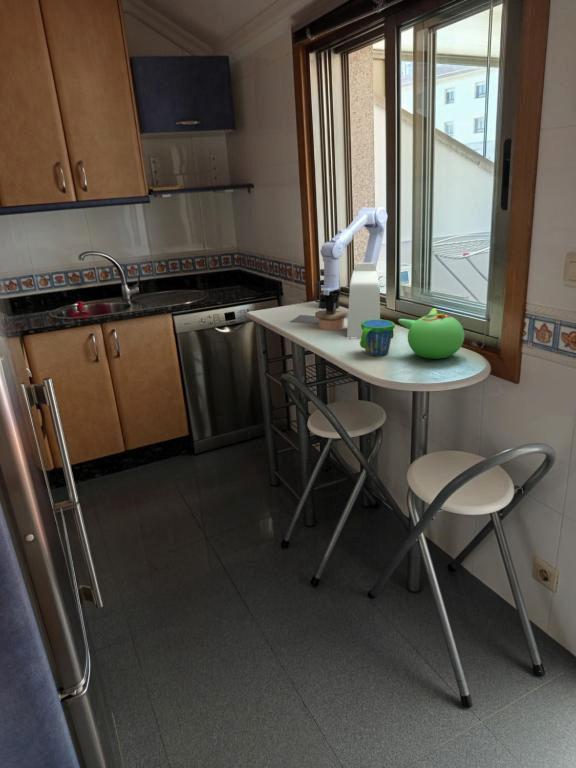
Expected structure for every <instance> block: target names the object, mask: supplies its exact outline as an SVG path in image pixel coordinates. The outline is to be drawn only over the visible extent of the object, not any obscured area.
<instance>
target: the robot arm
mask: <svg viewBox="0 0 576 768" xmlns="http://www.w3.org/2000/svg"><path fill="white" fill-rule="evenodd" d="M356 214H357V215H356V216H355V218H354V219H353V220H352V222H351V223H350V224H349V225H348V226H347V227H346V228H342V229H339V230H338V232H337V233H336V235H334V236H333V237H332V238H331V239H330V241H326V242H325V243H323V244H322V246H321V249H320V255H321V257H322V261H323V269H324V276H323V280H324V286H323V285H321V289H323V291H322V292H323V293H322V292H321V293H322V296H321V297H322V299H324V300H325V304H326V308H327V311H330V312H332V311H333V309H334V303H336V305H337V300H338V297H339V298H340V295H341V292H342V290H340V258H341V257H342V256H343V253H344V251H345V249H346V247H347V246H348V245H349V244H350V243H351V242H352V241H353V239H354V238H353V236H354V235H355V234H357V232H359V231H360V230H361V229H362V228H363V227H364V228H365V229H366V230H367V231H368V232H369V235H368V241H367V244H366V250H365V253H364V259H363V262H362V263H374V266H375V268H376V269H377V264H378V261H379V256H380V252H381V247H382V244H383V243H382V242H383V239H384V234H385V230H386V229H385V228H386V224H387V221H388V213H387V210H386V209H385V208H384V207H382V206H380V207H369V206H368V207H367V206H363V207H361V208H360V210H358V211H357V213H356ZM337 289H339V290H337Z"/></svg>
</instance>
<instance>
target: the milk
mask: <svg viewBox="0 0 576 768" xmlns="http://www.w3.org/2000/svg"><path fill="white" fill-rule="evenodd" d="M380 291H381V288H380V281H379V277H378V272H377V267H376V268H375V266H374V263H363V262H357V263H356V264H355V266H354V269H353V271H352V273H351V277H350V281H349V294H348V295H349V299H348V311H347V312H348V313H347V314H348V315H347V332H346V333H347V334H346V335H347V336H346V338H347V337H361V336H362V332H363V329H362V327H361V323H362V322H364V321H366V320H374V319H380V320H381V298H380V297H381V293H380Z"/></svg>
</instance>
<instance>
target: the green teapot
mask: <svg viewBox="0 0 576 768" xmlns="http://www.w3.org/2000/svg"><path fill="white" fill-rule="evenodd" d="M397 322H398V323H399V324H400V325H401V326H404V327H405V328H407V329H408V332H407V342H408V345H409V347H410V349H411V350H412V351H413V352H414V353H415V354H416V355H418V356H419V357H422V358H425V359H431V360H438V359H444V358H449V357H451V356H452V355H454V354H455V353H457V352H458V351H459V350H460V349H461V348H462V345H463V343H464V341H465V331H464V326H462V324H461V322H460V321H458V320H457V319H456V318H455V317H453V316H450V315H447V314H444V313H438V311H437V309H436V308H435V307H434V308H432V309H431V310H430V311H429V313H428V314H427V315H423V316H421V317H419V318H418V319H407V318H399V319H397Z"/></svg>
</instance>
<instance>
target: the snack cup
mask: <svg viewBox="0 0 576 768" xmlns="http://www.w3.org/2000/svg"><path fill="white" fill-rule="evenodd" d="M395 326H396V325H395V322H393V321H391V320H387V319H381V318H380V319H374V320H366V321H364V322H362V323H361V327H362V329H363V332H362V336H361V338H360V341H359V345H360V347H361V348H362V349H365V350H364V351H365V353H366V354H368V355H370V356H375V355H377V356H378V357H379V355H380V356H385V355H387V354H388V353H389V351H390V345H391V341H392V339H393V338H394V335H395V334H394V333H395V332H394V329H395ZM377 356H376V357H377Z"/></svg>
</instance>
